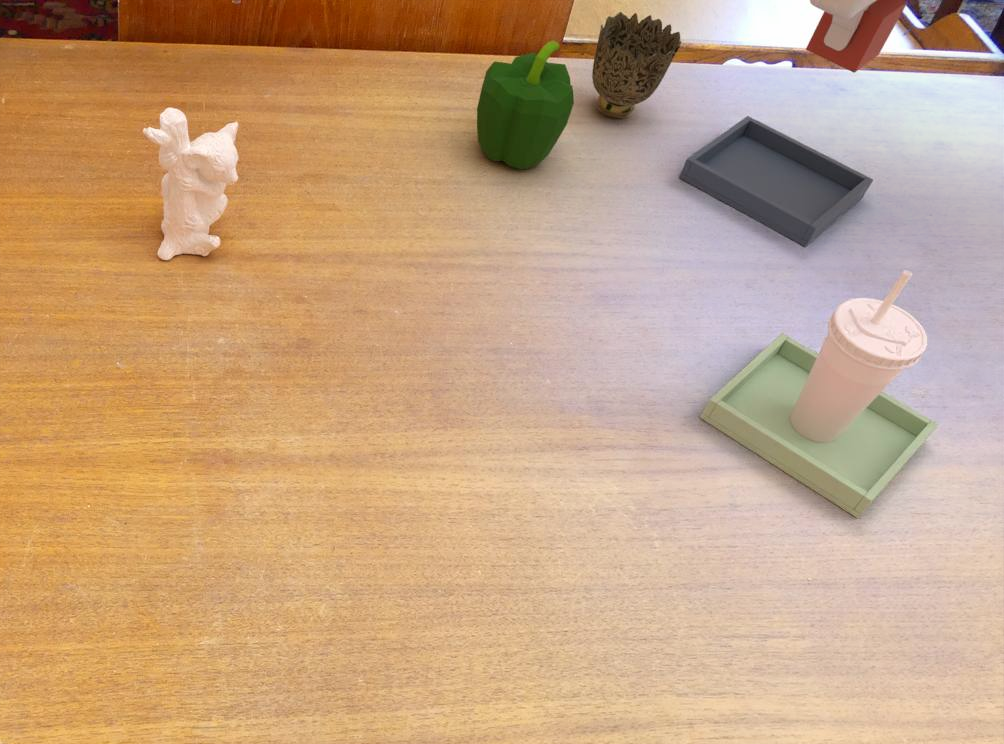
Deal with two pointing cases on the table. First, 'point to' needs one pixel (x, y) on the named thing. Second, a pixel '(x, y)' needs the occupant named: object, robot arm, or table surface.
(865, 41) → the block
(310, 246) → the table surface
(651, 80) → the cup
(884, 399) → the tray
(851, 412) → the smoothie
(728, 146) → the block tray
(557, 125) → the bell pepper
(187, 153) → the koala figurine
